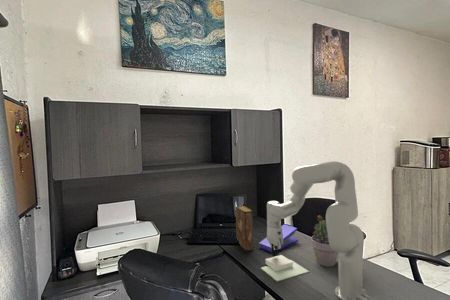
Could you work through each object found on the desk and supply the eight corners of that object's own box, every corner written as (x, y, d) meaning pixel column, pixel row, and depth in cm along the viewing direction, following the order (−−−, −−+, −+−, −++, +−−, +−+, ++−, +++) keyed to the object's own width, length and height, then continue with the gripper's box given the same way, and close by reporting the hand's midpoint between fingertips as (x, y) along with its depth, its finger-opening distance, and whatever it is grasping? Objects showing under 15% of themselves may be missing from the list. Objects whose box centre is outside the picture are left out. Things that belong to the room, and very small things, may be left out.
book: (254, 249, 165) (253, 210, 164) (246, 251, 163) (245, 212, 162) (243, 240, 180) (242, 205, 179) (236, 241, 178) (235, 206, 177)
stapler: (298, 241, 176) (298, 227, 176) (272, 254, 158) (272, 238, 158) (284, 237, 185) (284, 223, 185) (258, 248, 167) (258, 233, 167)
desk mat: (308, 272, 135) (308, 271, 135) (277, 281, 127) (277, 280, 127) (290, 260, 149) (290, 259, 149) (260, 268, 140) (260, 267, 140)
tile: (281, 259, 149) (292, 267, 140) (265, 263, 144) (276, 271, 135) (281, 254, 149) (292, 262, 140) (265, 259, 144) (275, 266, 135)
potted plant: (333, 275, 131) (332, 226, 130) (302, 261, 147) (301, 217, 146) (353, 265, 141) (352, 219, 140) (322, 252, 157) (321, 212, 156)
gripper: (287, 226, 139) (288, 259, 140) (271, 218, 153) (272, 249, 154) (276, 228, 136) (277, 262, 137) (261, 220, 150) (262, 251, 151)
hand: (274, 255), depth 145 cm, fingers closed
